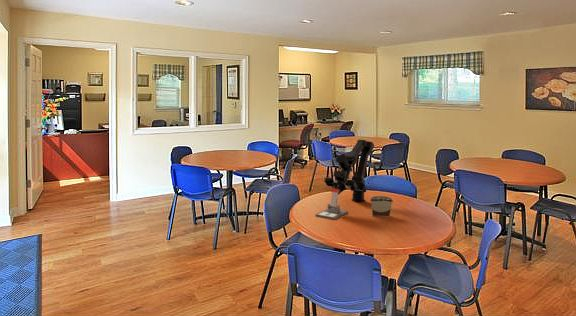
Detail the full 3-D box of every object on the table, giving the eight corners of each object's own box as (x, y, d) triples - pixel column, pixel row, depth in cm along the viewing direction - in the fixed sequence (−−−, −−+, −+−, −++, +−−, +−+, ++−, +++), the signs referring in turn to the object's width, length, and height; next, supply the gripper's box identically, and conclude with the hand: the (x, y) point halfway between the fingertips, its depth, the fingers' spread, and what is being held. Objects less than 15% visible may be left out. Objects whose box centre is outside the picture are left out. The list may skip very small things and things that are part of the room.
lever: (330, 207, 240) (332, 188, 240) (337, 208, 237) (339, 189, 237) (329, 207, 238) (331, 188, 238) (336, 209, 236) (338, 189, 236)
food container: (390, 213, 238) (391, 196, 237) (392, 216, 232) (393, 198, 231) (368, 212, 240) (369, 195, 238) (369, 215, 234) (370, 198, 232)
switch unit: (329, 209, 247) (329, 201, 246) (347, 212, 240) (348, 204, 239) (315, 216, 233) (315, 207, 233) (334, 219, 227) (335, 210, 226)
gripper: (325, 163, 245) (316, 185, 238) (355, 166, 235) (346, 189, 228) (332, 174, 253) (322, 196, 246) (361, 178, 243) (352, 201, 236)
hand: (335, 195), depth 239 cm, fingers closed, pressing on lever
